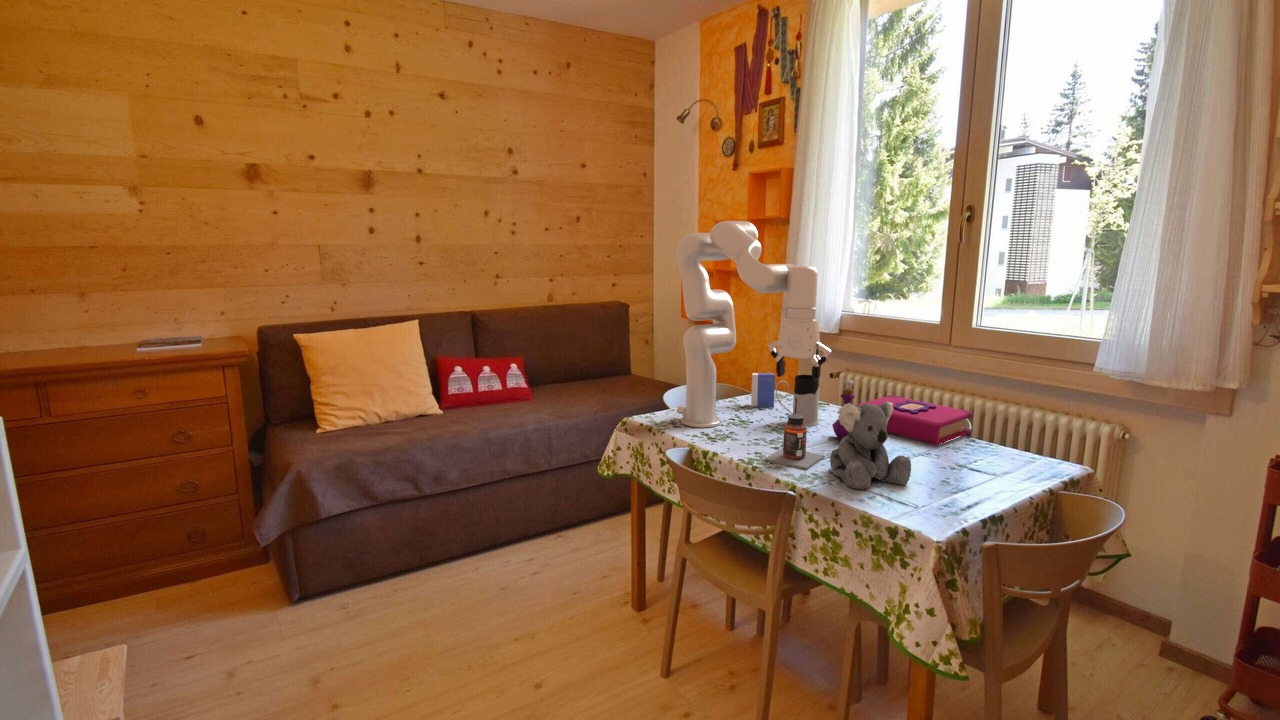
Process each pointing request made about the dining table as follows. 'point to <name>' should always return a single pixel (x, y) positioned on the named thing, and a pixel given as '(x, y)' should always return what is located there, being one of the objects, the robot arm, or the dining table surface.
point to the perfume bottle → (847, 398)
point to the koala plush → (867, 448)
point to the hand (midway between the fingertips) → (797, 378)
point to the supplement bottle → (795, 437)
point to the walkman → (763, 389)
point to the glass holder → (805, 399)
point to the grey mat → (803, 463)
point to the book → (924, 420)
